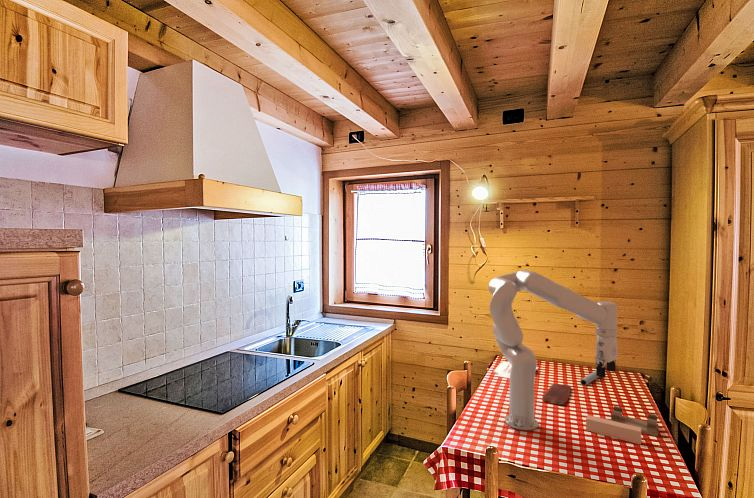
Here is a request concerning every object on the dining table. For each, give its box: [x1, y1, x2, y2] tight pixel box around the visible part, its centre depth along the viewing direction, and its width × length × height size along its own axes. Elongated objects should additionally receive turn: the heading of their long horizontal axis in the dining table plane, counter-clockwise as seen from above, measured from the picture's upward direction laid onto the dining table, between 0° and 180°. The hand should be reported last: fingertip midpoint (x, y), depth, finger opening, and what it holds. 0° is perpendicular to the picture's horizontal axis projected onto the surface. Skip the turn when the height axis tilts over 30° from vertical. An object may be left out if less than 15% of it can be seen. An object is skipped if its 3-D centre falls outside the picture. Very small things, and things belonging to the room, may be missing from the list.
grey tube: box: [579, 370, 601, 387], centre depth 210 cm, size 23×7×3 cm, turn 132°
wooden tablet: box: [542, 383, 572, 406], centre depth 190 cm, size 27×10×2 cm, turn 145°
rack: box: [610, 405, 659, 437], centre depth 159 cm, size 10×16×4 cm, turn 53°
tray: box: [493, 360, 539, 379], centre depth 224 cm, size 20×28×4 cm
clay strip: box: [585, 414, 642, 445], centre depth 152 cm, size 4×18×5 cm, turn 54°
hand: (606, 373), depth 161 cm, fingers open, 9 cm apart
